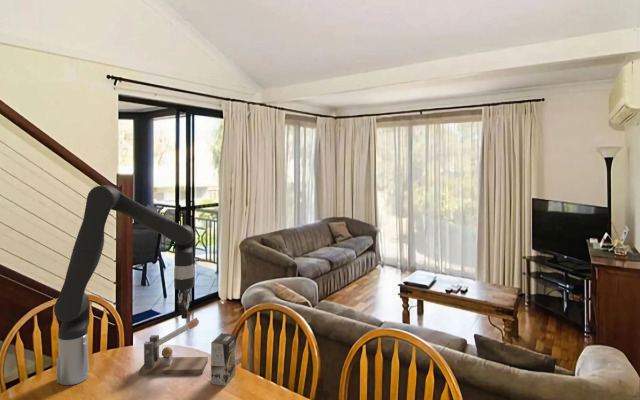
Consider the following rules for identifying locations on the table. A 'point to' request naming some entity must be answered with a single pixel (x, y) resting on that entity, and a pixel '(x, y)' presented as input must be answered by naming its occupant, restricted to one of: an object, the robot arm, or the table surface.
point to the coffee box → (223, 359)
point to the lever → (176, 332)
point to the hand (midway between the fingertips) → (184, 318)
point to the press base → (177, 366)
